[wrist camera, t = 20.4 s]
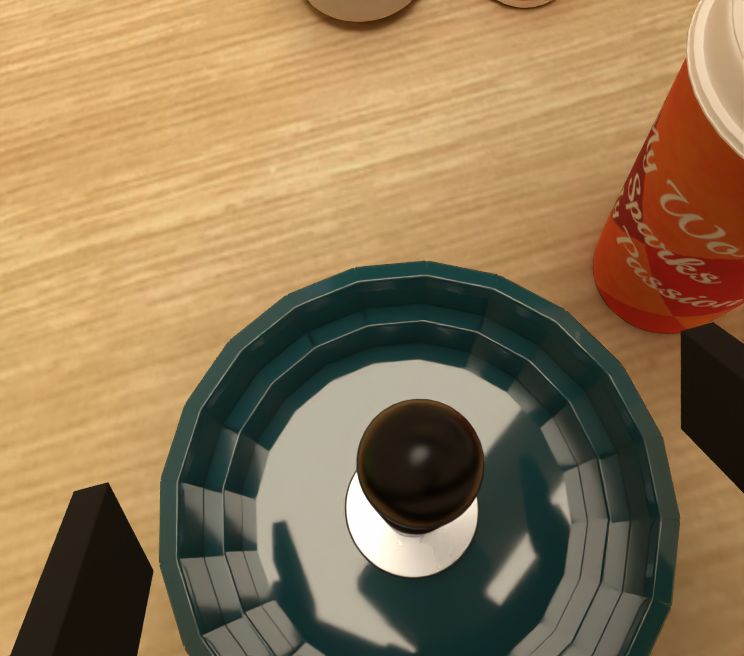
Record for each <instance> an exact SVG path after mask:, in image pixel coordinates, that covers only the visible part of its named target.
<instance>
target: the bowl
mask: <svg viewBox="0 0 744 656" xmlns="http://www.w3.org/2000/svg"><path fill="white" fill-rule="evenodd" d="M621 365H622V364H621V363H620V362H619V361H618V360H617V359H616V358H615V357H614V356H613V355H612V354H611V353H610V352H609V351H608V350H607V349H606V348H605V347H604V346H603V345H602V344H601V343H600V342H599V341H598V340H597V339H596V338H594V337H593V336H592V335H591V334H590V333H589V332H588V331H587V330H586V329H585V328H584V327H583V326H582V325H581V324H580V323H579V322H578V321H577V320H576V319H575V318H574V317H573V316H572V315H571V314H570V313H569V312H568V311H565V309H563V308H561V307H559V306H557V305H555V304H554V303H552V302H550V301H548V300H546V299H544V298H542V297H540V296H538V295H536V294H535V293H533V292H531V291H529V290H527V289H525V288H523V287H521V286H519V285H517V284H516V283H514V282H512V281H510V280H508V279H506V278H504V277H502V276H498V275H497V274H492V273H487V272H482V271H477V270H472V269H467V268H462V267H457V266H452V265H447V264H442V263H437V262H432V261H427V262H426V261H417V262H406V263H395V264H385V265H374V266H363V267H356V268H355V269H354V268H352V269H349V270H347V271H344V272H342V273H339V274H337V275H334V276H332V277H329V278H327V279H324V280H322V281H319V282H317V283H314V284H312V285H309V286H307V287H304V288H302V289H299V290H297V291H294V292H292V293H289V294H288V296H287V295H286V296H284V297H283V298H282V299H281V300H279V301H278V302H277V303H276V304H274V305H273V306H272V307H271V308H269V309H268V310H267V311H265V312H264V313H263V314H262V315H260V316H259V317H258V318H257V319H255V320H254V321H253V322H252V323H250V324H249V325H248V326H247V327H245V328H244V329H243V330H242V331H240V332H239V333H238V334H237V335H235V336H234V337H233V338H232V339H230V342H228V343H227V344H226V345H225V347H224V348H223V350H222V351H221V353H220V354H219V356H218V357H217V358H216V360H215V361H214V363H213V364H212V366H211V367H210V369H209V370H208V371H207V373H206V374H205V376H204V377H203V379H202V380H201V382H200V383H199V384H198V386H197V387H196V389H195V390H194V392H193V393H192V395H191V396H190V397H189V399H188V400H187V402H186V405H185V406H184V408H183V411H182V414H181V417H180V421H179V424H178V427H177V430H176V433H175V436H174V439H173V442H172V445H171V448H170V451H169V455H168V458H167V461H166V464H165V467H164V470H163V473H162V476H161V480H162V481H161V482H160V533H159V563H161V564H160V569H161V573H162V576H163V579H164V583H165V586H166V589H167V593H168V596H169V600H170V603H171V606H172V610H173V613H174V617H175V620H176V623H177V627H178V630H179V633H180V637H181V640H182V644H183V646H185V650H186V652H187V653H188V655H189V656H650V654H651V652H652V650H653V648H654V645H655V643H656V641H657V639H658V636H659V634H660V632H661V630H662V628H663V625H664V623H665V621H666V619H667V616H668V614H669V612H670V610H671V607H670V606H671V605H672V599H673V589H674V578H675V568H676V558H677V548H678V537H679V527H680V520H679V519H680V515H679V510H678V505H677V501H676V496H675V491H674V487H673V482H672V477H671V473H670V468H669V464H668V459H667V454H666V450H665V445H664V440H663V437H661V433H660V431H659V429H658V428H657V426H656V424H655V422H654V420H653V419H652V417H651V415H650V413H649V411H648V410H647V408H646V406H645V404H644V402H643V401H642V399H641V397H640V395H639V393H638V392H637V390H636V388H635V386H634V385H633V383H632V381H631V379H630V377H629V376H628V374H627V372H626V370H625V368H624V367H623V366H621ZM410 399H429V400H434V401H439V402H441V403H444V404H446V405H448V406H450V407H452V408H453V409H455V410H456V411H458V412H460V413H461V414H462V415H463V416H464V417H465V418H466V419H467V420H468V421H469V422H470V424H471V425H472V427H473V428H474V429H475V431H476V433H477V435H478V437H479V439H480V442H481V444H482V449H483V453H484V465H485V469H484V477H483V482H482V485H481V488H480V491H479V493H478V498H479V508H480V513H479V523H478V528H477V531H476V534H475V537H474V539H473V541H472V543H471V545H470V547H469V548H468V550H467V551H466V553H465V554H464V555H463V556H462V557H461V559H460V560H459V561H458V562H456V563H455V564H454V565H453V566H452V567H450V568H448V569H447V570H445V571H443V572H441V573H439V574H437V575H434V576H431V577H427V578H420V579H406V578H400V577H396V576H392V575H390V574H387V573H385V572H383V571H381V570H379V569H378V568H376V567H375V566H373V565H372V564H371V563H370V562H368V561H367V560H366V559H365V558H364V557H363V556H362V554H361V553H360V552H359V550H358V549H357V548H356V546H355V544H354V543H353V541H352V539H351V536H350V534H349V531H348V528H347V524H346V518H345V498H346V493H347V489H348V485H349V483H350V480H351V478H352V476H353V474H354V472H355V471H356V458H357V451H358V447H359V443H360V440H361V438H362V436H363V433H364V431H365V430H366V428H367V427H368V425H369V424H370V422H371V421H372V420H373V419H374V418H375V417H376V416H377V415H378V414H379V413H380V412H381V411H383V410H385V409H386V408H388V407H389V406H391V405H393V404H396V403H398V402H401V401H405V400H410Z"/></svg>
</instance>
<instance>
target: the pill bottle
mask: <svg viewBox="0 0 744 656" xmlns="http://www.w3.org/2000/svg"><path fill="white" fill-rule="evenodd" d="M498 1H500V2H502V3H504V4H507V5H510V6H514V7H521V8H528V7H535V6H539V5H543V4H546V3H548V2H550V1H552V0H498Z"/></svg>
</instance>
